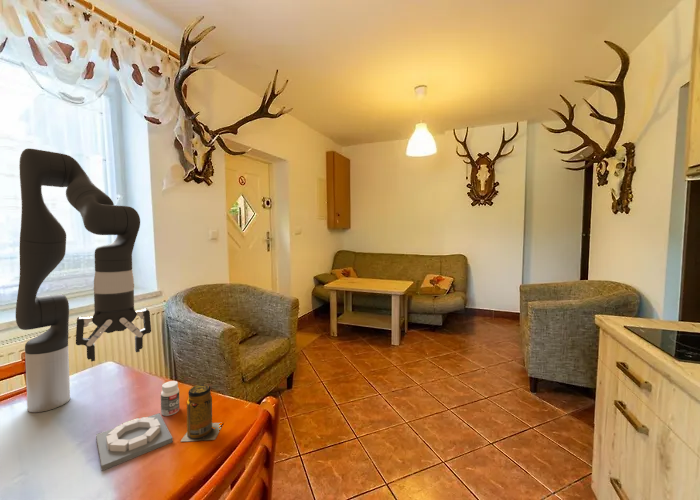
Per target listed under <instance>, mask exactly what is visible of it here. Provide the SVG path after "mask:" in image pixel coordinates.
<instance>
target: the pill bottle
mask: <svg viewBox="0 0 700 500" xmlns="http://www.w3.org/2000/svg"><path fill="white" fill-rule="evenodd" d="M179 411H180V389H179V383H178V381H177V380H170V381H166V382H164V383H163V384H162V385H161V392H160V415H161V416H164V417H168V416H172V415H175V414H177V413H178V412H179Z"/></svg>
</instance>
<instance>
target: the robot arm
mask: <svg viewBox="0 0 700 500" xmlns="http://www.w3.org/2000/svg"><path fill="white" fill-rule="evenodd" d="M18 170H19V184H20V185H19V186H20V196H21V199H20V200H21V212H20V213H21V216H20V219H21V220H20V233H19V282H18V289H17V295H16V296H17V297H16V306H15V322H16V326H17V328H19V329H20V330H22V331H23V330H24V331H28V330H36V329H41V328H46V327H49V329H47V330H46V331H45V332H43V333H40V334H39V335H38V336H35V337H33V338H31V339H29V340H27V341H26V343H25V345H24V355H25V356H24V357H25V376H26V383H25V384H26V401H27V402H26V405H27V406H26V407H27V411H28V412H30V413H41V412H45V411H47V412H48V411H51V410H53V409H56V408H58V407H61V406H64V404H67V403H68V402H69V401H70V400H71V390H70V389H71V387H70V362H69V361H70V356H69V355H70V354H69V335H70V334H69V325H70V324H69V320H70V305H69V300H68V298H67V296H66V295H64V294H61V293H59V294H58V293H56V294H48V295H38V292H39V289H40V288H41V286H42V283H43V282H44V281H45V279H46V278H47V277H48V276H49V275H50V274H51V273H52V272H54V270H55V269H56V268H57V267H58V266H59V264H60V263H61V262H62V261H63V260H64V258H65V256H66V249H67V232H66V230H65V228H64V227H63V225H62V223H61V222H60V221H59V220H58V219H57V218H56V216H55V214H53V213H52V212H51V210H50V209H49V207H48V205H47V204H46V203H45V200H44V196H43V192H42V189H43V188H42V187H43V186H45V187H55V188H66V190H65V197H66V200H67V201H68V203H69V204H70V205H71V206H72V207H73V208H74V209H75V210H76V211H78V213H80V216H81V219H82V221H83V226H84V228H85V229H86V231H88V232H90V233H91V234H94V235H99V236H116V238H115V239H114V241H113V242H111V243H109V244H105V245H101V246H98V247H96V248H95V250H94V279H93V295H94V296H93V302H94V303H93V305H94V306H93V307H94V308H93V309H94V313H93V316H90V317H89V316H87V317H84V316H78V317H77V319H76V329H75V345H76V346H85V347H86V359H87V360H88V361H89V360H90V362H95V361H96V346H95V343H96V342H97V340H98V339H99V338H100V337H101V336H103V334H104V333H107V334H111V333H114V332H123V331H125V330H127V329H128V330H129V331H130V333H133V334H134V350H135V353H140V350H142V349H143V347H144V346H143V344H144V343H143V341H144V340H143V339H144V338H143V337H144V336H145V335H147V334H151V332H152V325H151V313H150V310H149V309H148V308H143V309H141V310H135V281H134V280H135V279H134V273H133V256H132V255H133V250H134V247H135V244H136V243H135V242H136V239H137V236H138V234H139V231H140V227H141V218H140V214H139V213H138V211H137V210H136V209H135V208H134V207H132V206H126V205H115V203H114V201H113V200H112V198H111V197H110V196H108V195H107V194H106V193H105V192H104V191H103V190H102V189H100V188H99V187H97V185H96V184H94V182H93V181H92V180H91V179H90V177H89V176H88V174H87V172H86V171H85V170H84V169H83V167H82V166H81V164H79V162H78V161H77V160H76V159H75V158H74V157H72V156H70V155H69V154H65V153H61V152H56V151H55V152H54V151H49V150H48V151H47V150H42V149H37V148H25V149H24V150H23V151H21V154H20V158H19V167H18ZM37 295H38V296H37ZM137 316H139V319H141V320H142V322H143V328H138V327H137V326H136V324H135V323H133V321H134V320H135V319H136V317H137ZM90 323H93V324H94V325H95V326H96V327H95V329H94V330H93V331H92V333H91V334H89V336H88V337H87V338H86V337H84V329H85V328H87V327H88V326H89V324H90Z"/></svg>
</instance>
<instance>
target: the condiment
mask: <svg viewBox="0 0 700 500" xmlns="http://www.w3.org/2000/svg"><path fill="white" fill-rule="evenodd" d="M211 389H212V388H211V386H210V385H208V384H204V383H203V384H202V383H201V384H197V385H194V386H192V387H191V388H190V389H188V393H187V394H188V397H187V398H188V399H187V402H186V433H184V435H183V437H182V438H181V440H180V442H197V441H198V442H199V441H200V442H201V441H211V440H212V441H213V440H216V439H217V437H218V435H219V433H220V431H221V429H222V427H220V426H221V425H219V424H220V423H221V422H213V397H212V396H213V395H211V394H212V391H211ZM212 427H213V428H212ZM219 427H220V428H219ZM214 428H215V429H214ZM219 430H220V431H219Z"/></svg>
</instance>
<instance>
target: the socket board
mask: <svg viewBox="0 0 700 500" xmlns="http://www.w3.org/2000/svg"><path fill="white" fill-rule="evenodd" d="M95 438H96V446H97V451H98V456H99V462H100V468H101V471H103V472H104V471H105V470H108V469H110V468H113V467H115V466H117V465H120V464H122V463H125V462H128V461H131V460H132V459H134V458H135V459H136V458H137V457H139V456H142V455H144V454H147V453H149V452H152V451H154V450H157V449H159V448H162V447H165V446H167V445H169V444H172V443H174V442H173V441H174V440H173V439H174V438H173V436H172V434H171V431H170V430H169V429H168V426H167V424H166V423H165V420H164V419H163V417H162V414H161V412H160V413H155V414H153V415H149V416H146V417H145V416H144V417H140V418H139V417H137V418H134V419H132V420H129V421H125V422H123V423H121V424H118V425H117V426H115V428H112V429H108V430H105V431H103V432H100V433H97V434H95Z"/></svg>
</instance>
